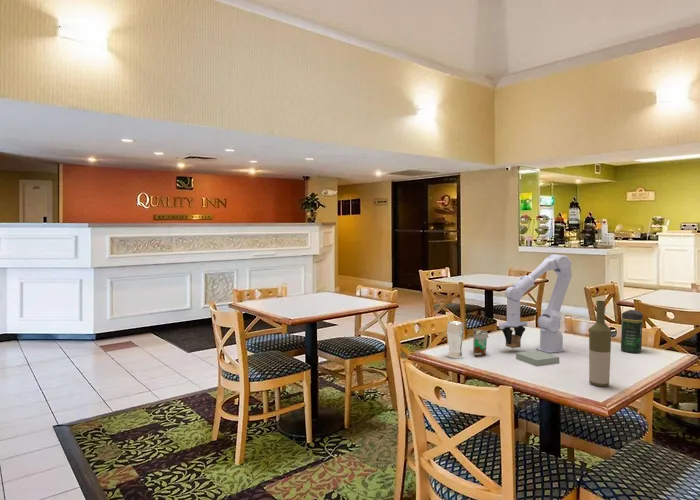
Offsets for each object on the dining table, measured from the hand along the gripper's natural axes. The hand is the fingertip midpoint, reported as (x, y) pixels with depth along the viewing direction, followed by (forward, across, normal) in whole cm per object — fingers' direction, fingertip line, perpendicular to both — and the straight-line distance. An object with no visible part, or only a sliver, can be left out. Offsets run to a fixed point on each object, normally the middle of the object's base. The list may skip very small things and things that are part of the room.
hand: (513, 343), depth 215 cm
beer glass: (+4, +29, -3) cm, 30 cm away
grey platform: (+4, +1, +16) cm, 17 cm away
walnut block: (+2, 0, 0) cm, 2 cm away
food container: (+4, +16, -2) cm, 17 cm away
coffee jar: (+4, -50, +20) cm, 54 cm away
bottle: (+4, +3, +48) cm, 48 cm away
